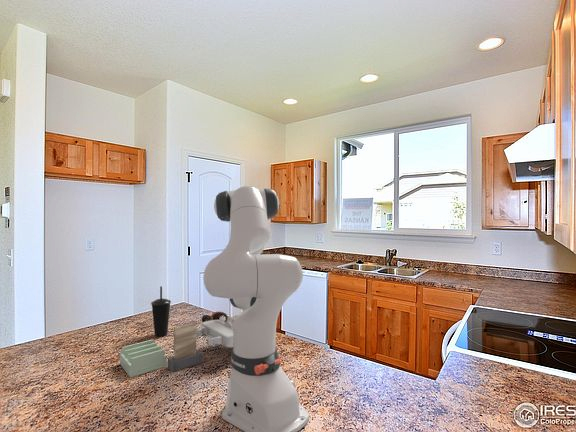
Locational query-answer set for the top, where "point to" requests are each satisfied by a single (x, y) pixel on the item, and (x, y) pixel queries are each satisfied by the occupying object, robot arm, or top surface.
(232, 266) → the robot arm
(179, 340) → the maple board
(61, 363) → the top surface
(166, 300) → the drinking cup
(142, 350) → the dish rack
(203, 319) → the pottery mug
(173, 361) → the board stand
